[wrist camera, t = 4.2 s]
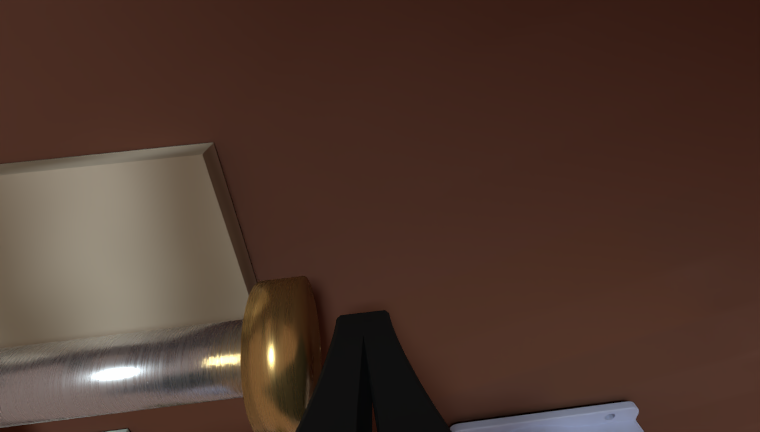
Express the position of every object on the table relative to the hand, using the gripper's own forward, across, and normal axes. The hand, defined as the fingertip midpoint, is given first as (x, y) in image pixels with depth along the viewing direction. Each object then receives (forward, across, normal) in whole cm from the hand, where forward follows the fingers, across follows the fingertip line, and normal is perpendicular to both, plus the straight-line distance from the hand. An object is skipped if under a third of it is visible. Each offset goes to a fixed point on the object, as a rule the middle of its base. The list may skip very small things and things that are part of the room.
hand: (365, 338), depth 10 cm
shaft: (+2, +7, 0) cm, 7 cm away
